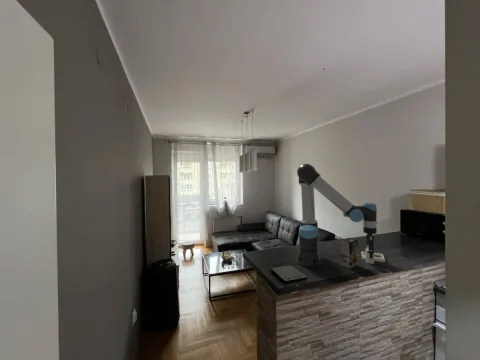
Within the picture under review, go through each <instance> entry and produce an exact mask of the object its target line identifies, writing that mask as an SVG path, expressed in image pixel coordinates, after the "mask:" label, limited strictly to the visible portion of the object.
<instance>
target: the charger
mask: <svg viewBox="0 0 480 360" xmlns="http://www.w3.org/2000/svg"><path fill="white" fill-rule="evenodd" d="M365 252H366V260H365V263H366V264H370V263H369V256H368V252H369V249H367V247H366V248H365ZM371 265H374V264H373V263H371Z"/></svg>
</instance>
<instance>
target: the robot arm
mask: <svg viewBox="0 0 480 360" xmlns="http://www.w3.org/2000/svg"><path fill="white" fill-rule="evenodd" d="M296 174H297V177H298V184H299V185H300V188H301V190H300V191H301V210H302V211H301V214H302V216H301V217H302V219H301V220H300V227H299V229H298V235H299V236H298V239H299V240H298V241H299V245H298V247H299V248H298V253H297V255H296V263H297V264H298V265H300V266H302V267H307V268H316V267H319V266H321V265H322V264H321V263H322V260H321V257H320V252H319V226H318V225H319V224H318V220H317V219H316V208H315V207H316V205H315V203H316V202H315V190H316V191H318V192H319V193H320V194H321V195H322V197H323V196H324V198H326V199H327V200H328V201H329V202H330V203H331V204H333V205H334V206H335V207H336V208H337V209H338V210H339V211H341V212H342V214H343V217H345V218H349V219H350V221H352V222H354V223H360V222H362V225H363V227H362V228H363V229H362V230H363V231H362V232H363V233H364V234H366V235H365V238H366V248H367V249H369V252H368V256H369V263H368V264H372V263H373V264H372V265H374V264H375V261H374V257H375V256H374V253H375V250H374V249H375V246H374V242H375V241H374V239H375V237H374V235H375V234H377V232H378V231H377V230H378V229H377V225H378V221H377V220H378V219H377V217H378V216H377V215H378V214H377V212H378V211H377V210H378V209H377V204H376V203H374V202H364V203H363V204H362V205H354V204H353V203H352V202H351V201H350V200H348V199H347V198H346V197H344V196H343V195H342V194H341V193H340V192H339V191H338V190H336V189H335V188H334V187H333V186H332V185H331V184H329V183H328V182H327V180H324V179H323V178H322V176H321V174H320V173H319V172H318V171H317V170H316V168H315V167H314V166H313V165H312V164H309V163H303V164H300V165H299V167H298V168H297V172H296Z"/></svg>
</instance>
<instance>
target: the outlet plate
mask: <svg viewBox="0 0 480 360" xmlns="http://www.w3.org/2000/svg"><path fill="white" fill-rule="evenodd" d="M360 253H361V255H360V256H361V259H362V260H365V261H366V251H360ZM374 262H378V263H386V259H385V257H384V254H383V253H378V252H374Z"/></svg>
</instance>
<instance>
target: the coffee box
mask: <svg viewBox="0 0 480 360" xmlns="http://www.w3.org/2000/svg"><path fill="white" fill-rule="evenodd" d="M358 241H359V240H358V239H356V238H349V237H348V238H344V239H342V240H341V241H340V266H342V267H345V268H348V269H353V268H355V267H356V266H358V261H359V259H358V258H359V257H358V254H359V253H358V249H359V248H358V246H359V245H358Z"/></svg>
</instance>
